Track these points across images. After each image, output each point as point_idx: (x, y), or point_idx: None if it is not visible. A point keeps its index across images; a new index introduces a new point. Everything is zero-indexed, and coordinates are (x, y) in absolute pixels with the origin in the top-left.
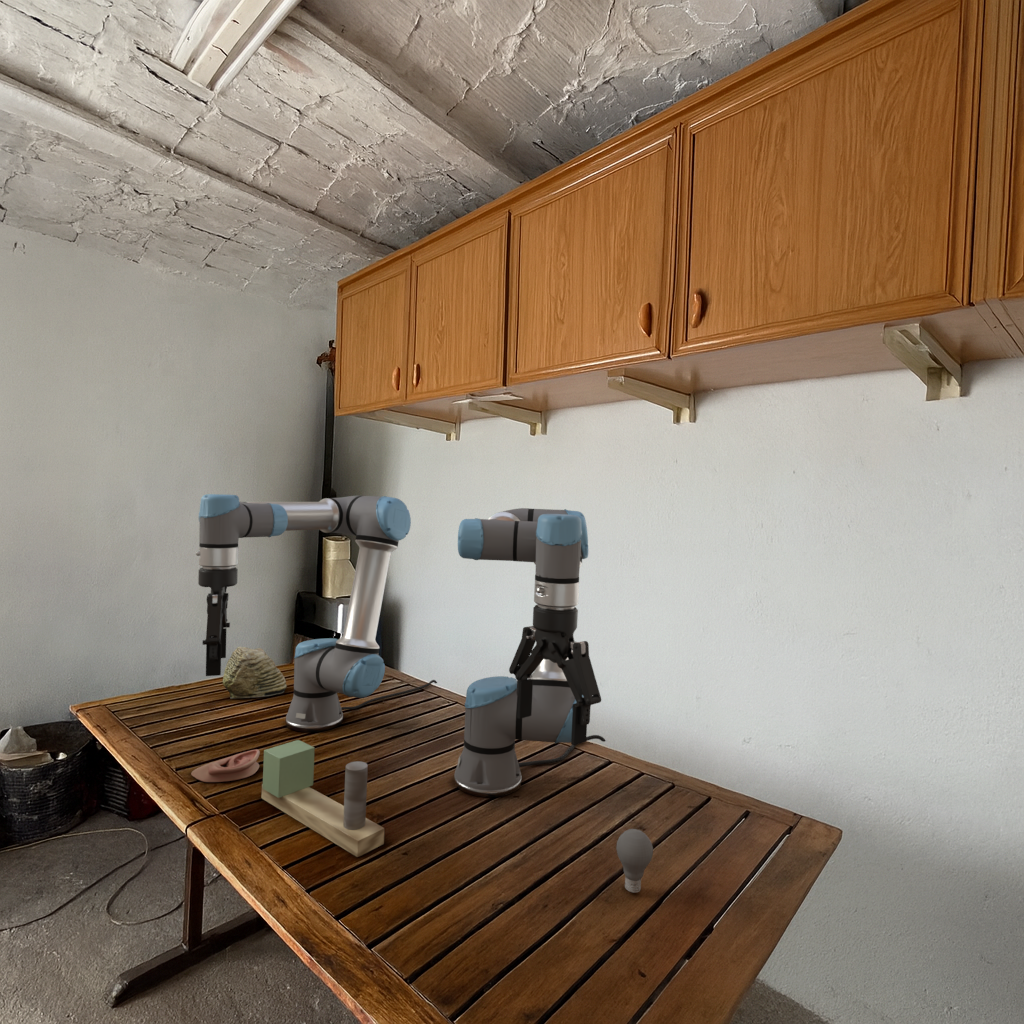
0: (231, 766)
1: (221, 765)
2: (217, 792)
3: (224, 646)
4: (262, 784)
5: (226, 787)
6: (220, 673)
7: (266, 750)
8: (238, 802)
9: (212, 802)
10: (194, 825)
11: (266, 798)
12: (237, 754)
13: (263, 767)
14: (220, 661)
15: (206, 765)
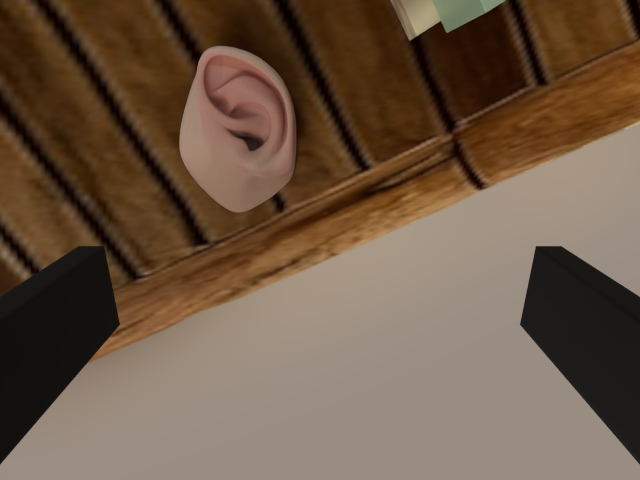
0: (260, 123)
1: (247, 148)
2: (346, 146)
3: (50, 296)
4: (420, 33)
5: (324, 128)
6: (564, 250)
7: (493, 2)
8: (412, 95)
9: (393, 152)
10: (486, 177)
11: (433, 25)
12: (208, 111)
13: (466, 22)
14: (630, 292)
15: (239, 184)
